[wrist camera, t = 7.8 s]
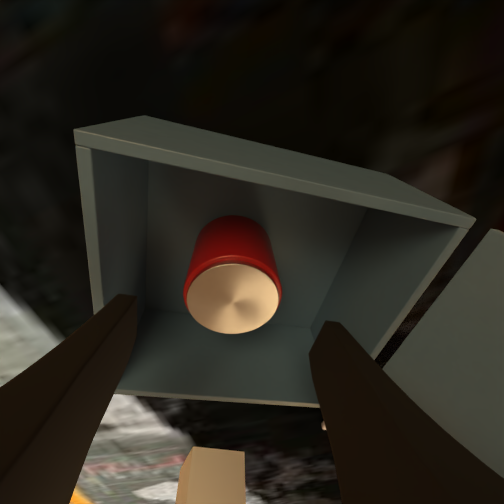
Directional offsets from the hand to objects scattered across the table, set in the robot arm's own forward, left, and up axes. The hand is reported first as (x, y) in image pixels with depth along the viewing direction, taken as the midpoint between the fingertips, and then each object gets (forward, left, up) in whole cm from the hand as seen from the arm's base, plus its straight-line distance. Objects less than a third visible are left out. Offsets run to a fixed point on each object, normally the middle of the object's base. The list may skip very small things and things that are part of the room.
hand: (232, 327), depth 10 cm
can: (0, 0, -6) cm, 6 cm away
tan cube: (-29, -3, -6) cm, 30 cm away
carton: (0, -1, -6) cm, 6 cm away
